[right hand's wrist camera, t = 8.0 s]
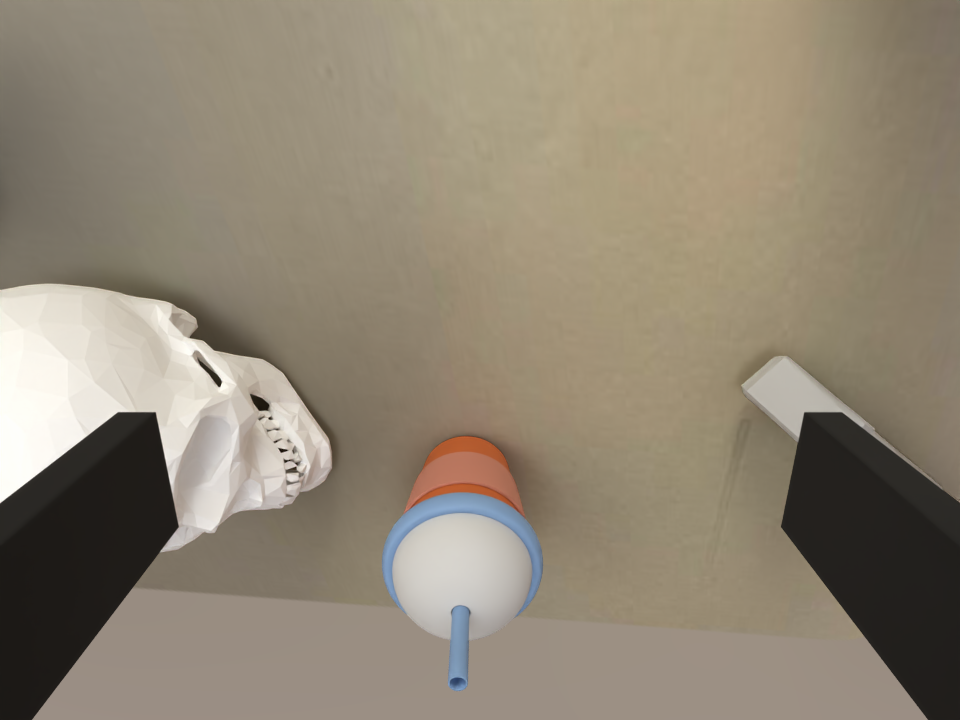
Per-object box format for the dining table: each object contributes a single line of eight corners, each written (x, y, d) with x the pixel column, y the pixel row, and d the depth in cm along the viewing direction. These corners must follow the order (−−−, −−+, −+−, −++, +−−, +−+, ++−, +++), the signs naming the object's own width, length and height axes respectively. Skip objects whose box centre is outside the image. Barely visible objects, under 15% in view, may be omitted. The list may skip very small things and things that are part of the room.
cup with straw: (500, 541, 46) (512, 777, 29) (385, 503, 45) (329, 725, 28) (549, 441, 43) (594, 638, 26) (428, 397, 42) (393, 575, 25)
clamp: (729, 382, 41) (781, 436, 35) (771, 341, 40) (833, 388, 34) (899, 521, 47) (969, 587, 41) (939, 488, 46) (1018, 551, 40)
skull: (305, 525, 46) (225, 707, 31) (6, 402, 42) (-250, 540, 27) (378, 374, 42) (328, 497, 27) (57, 226, 39) (-207, 273, 24)
